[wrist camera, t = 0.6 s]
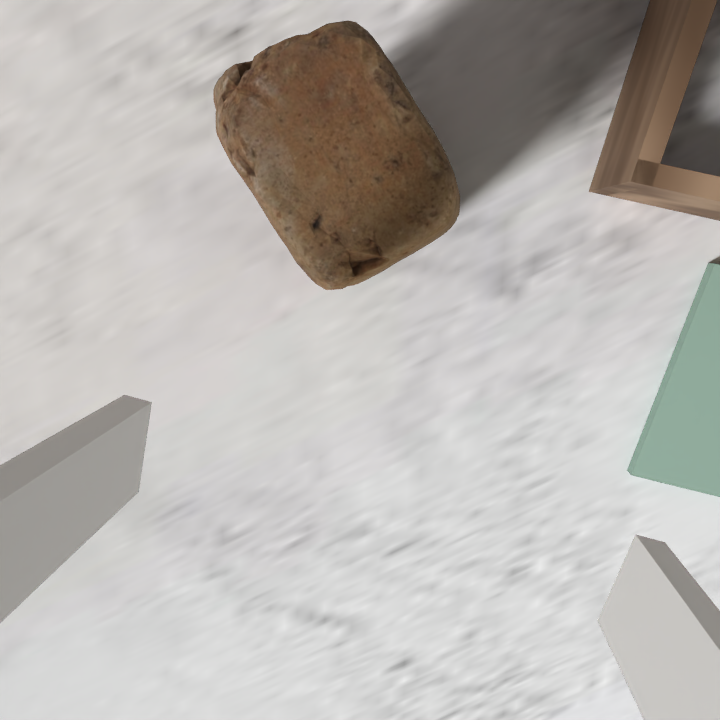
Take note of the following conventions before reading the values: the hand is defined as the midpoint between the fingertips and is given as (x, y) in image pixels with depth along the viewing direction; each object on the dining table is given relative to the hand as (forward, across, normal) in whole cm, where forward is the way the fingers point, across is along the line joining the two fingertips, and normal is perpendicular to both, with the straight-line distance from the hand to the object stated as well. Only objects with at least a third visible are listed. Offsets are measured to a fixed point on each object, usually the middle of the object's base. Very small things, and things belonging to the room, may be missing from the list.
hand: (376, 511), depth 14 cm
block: (+26, -5, +9) cm, 28 cm away
